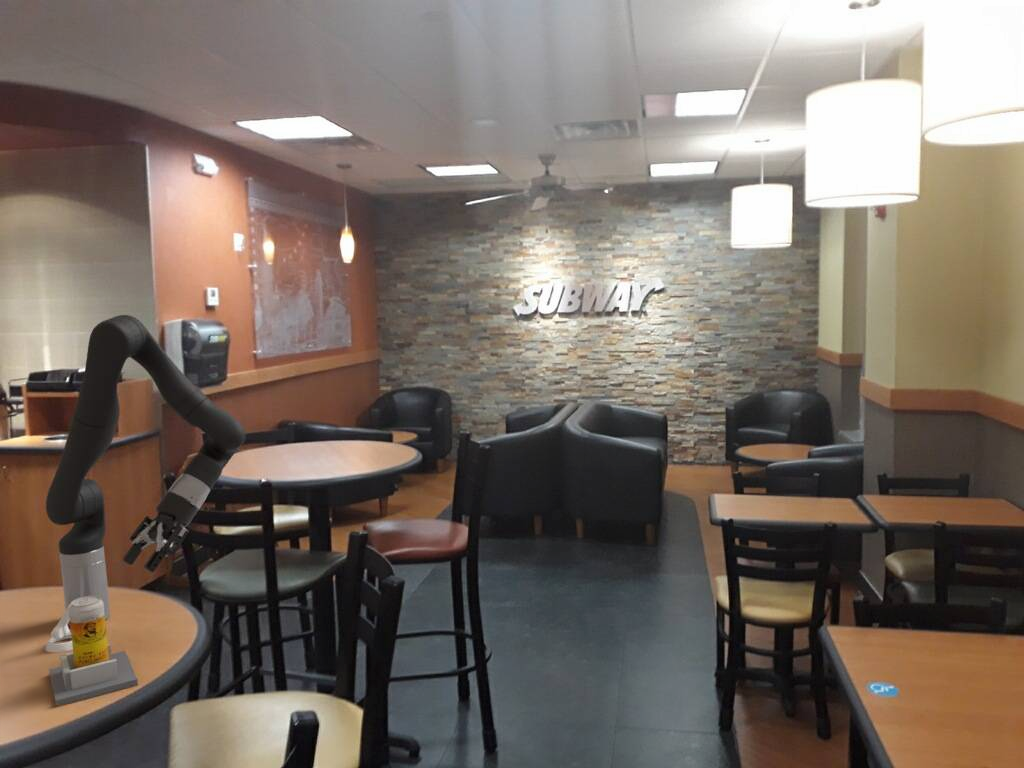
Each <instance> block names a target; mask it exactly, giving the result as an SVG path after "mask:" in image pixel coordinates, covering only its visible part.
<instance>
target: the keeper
mask: <svg viewBox="0 0 1024 768" xmlns="http://www.w3.org/2000/svg"><path fill="white" fill-rule="evenodd" d="M107 645H108V655H109V661H105V662H101V663H97V664H93V665H89V666H85V667H81V668H77V669H75V666H74V656H73V651H72V652H68V653H65V654H60V655H59V657H60V666H58V667H53V668H49V670H48V671H49V678H50V684H51V688H52V692H53V698H54V701H55V706H56V708H58V707H60V706H64V705H69V704H71V703H75V702H79V701H84V700H86V699H90V698H94V697H98V696H101V695H102V696H103V695H105V694H109V693H113V692H116V691H120V690H124V689H127V688H131V687H135V686H139V681H138V677H137V675H136V673H135V671H134V668H133V666H132V664H131V661H130V659H129V656H128V655H127V652H126V651H125V650H122V651H119V652H114V653H112V649H111V644H110V643H107Z"/></svg>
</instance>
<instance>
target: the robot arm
mask: <svg viewBox="0 0 1024 768" xmlns="http://www.w3.org/2000/svg"><path fill="white" fill-rule="evenodd" d="M129 358H130V359H132V360H133V361H134V362H136V363H138V365H140V366H141V367H142V368H143V369H144V370H145V371H146V372H147V373H148V375H149V376H150V377H151V378H152V380H153V382H154V384H155V386H156V387H157V390H158V392H159V394H160V396H161V397H162V398H163V400H164V401H165V403H166V404H167V405H168V406H169V407H170V408H171V409H172V411H174V412H175V413H176V414H177V415H178V416H179V417H181V418H182V419H183V420H184V421H185V422H186V423H187V424H188V425H189V426H191V427H193V428H198V429H199V430H201V431H202V432H203V433H204V434H205V435H207V438H206V440H205V441H204V443H203V444H202V446H201V447H200V449H199V451H198V452H197V453H196V455H195V456H194V457H193V458H191V460H190V461H189V463H187V466H186V467H185V468H184V470H183V471H182V473H181V474H180V476H179V477H177V479H175V481H174V482H173V483H172V485H171V486H170V488H169V489H168V490H167V492H166V493H165V495H164V496H163V497H162V498H161V501H159V503H158V504H157V506H156V507H155V511H156V512H157V516H156V517H155V518H151V516H149V515H146V516H145V517H144V519H143V520H142V521H141V522H140V524H139V525H138V526H137V527H136V529H135V530H134V531H133V533H132V534H131V535H130V538H129V540H130V541H131V543H132V545H131V546H130V548H129V550H127V552H126V554H125V555H124V557H123V558H122V561H123V562H124V563H126V564H127V565H131V566H132V565H134V563H135V562H136V561H137V559H138V557H139V555H141V553H142V551H143V550H144V549H145V548H147V546H149V545H154V543H157V545H156V549H155V551H154V552H153V553H152V554H151V556H150V557H149V558H148V560H147V561H146V563H145V564H144V567H143V568H144V569H145V570H147V571H148V572H150V573H154V572H155V571H156V570H157V568H158V567H159V566H160V564H161V563H162V561H164V560H163V559H164V558H167V557H168V556H172V557H173V556H174V555H175V554H176V553H177V551H179V550H178V549H179V548H180V546H181V545H182V543H183V542H184V541H185V538H186V537H187V536H188V534H189V532H190V531H189V529H187V528H186V527H188V526H189V525H190V523H191V522H192V520H193V518H194V517H195V516H196V514H197V513H198V511H199V510H200V509H201V507H202V506H203V504H204V503H205V501H206V499H207V497H208V496H209V494H210V492H211V490H212V489H213V487H214V486H215V484H216V483H217V482H218V480H219V479H220V478H221V477H220V476H221V474H222V473H223V469H224V468H225V467H226V466H227V464H228V463H229V461H230V460H231V459H232V458H233V456H234V455H235V453H236V452H237V451H238V450H239V448H241V447H242V445H243V444H244V443H245V440H246V431H245V429H244V427H243V425H242V423H240V421H239V420H238V419H236V418H235V417H234V416H233V415H231V414H230V413H229V412H227V411H226V410H224V409H223V408H221V407H220V406H218V405H217V404H215V403H214V402H213V401H212V400H211V399H210V397H208V396H207V395H206V393H205V394H204V392H202V391H201V390H200V389H199V388H198V387H197V386H196V385H195V384H194V383H193V382H192V381H191V380H190V379H189V378H188V377H187V376H186V375H185V373H183V372H182V371H181V369H179V368H178V366H177V365H176V364H175V363H174V362H173V361H172V359H171V358H170V357H169V356H168V354H167V353H166V351H164V349H163V348H162V347H161V345H160V344H159V343H158V342H157V340H156V339H155V338H154V337H153V335H152V333H150V331H149V330H148V328H147V327H146V326H144V324H143V323H142V322H141V320H139V319H138V318H136V317H135V316H133V315H129V314H120V315H117V316H113V317H110V318H108V319H105V320H103V321H101V322H99V323H98V324H96V325H95V326H94V327H93V329H92V331H91V332H90V335H89V340H88V346H87V352H86V360H85V361H86V362H85V369H84V374H83V378H82V382H81V384H80V385H81V386H80V388H79V392H78V397H77V400H76V403H75V407H74V409H73V414H72V417H71V421H70V424H69V429H68V433H67V438H66V441H65V445H64V448H63V451H62V454H61V458H60V460H59V464H58V466H57V469H56V471H55V473H54V474H55V475H54V477H53V479H52V480H51V484H50V486H49V489H48V491H47V496H46V499H45V510H46V511H45V512H46V515H47V517H48V519H49V520H50V521H51V522H52V523H53V524H55V525H57V526H66V525H67V526H68V525H70V524H73V526H72V528H71V529H70V530H69V531H68V532H67V533H66V534H65V535H63V536H62V537H61V538H60V539H59V541H58V551H59V561H60V567H61V568H60V569H61V578H62V587H63V598H64V607H65V608H64V609H65V610H64V611H66V609H67V607H68V606H69V605H70V604H71V602H72V601H74V600H76V599H78V598H82V597H86V596H99V597H100V598H101V600H102V601H103V603H104V614H105V621H106V620H107V619H109V618H110V616H111V606H110V596H109V586H108V585H109V584H108V577H107V575H108V574H107V567H106V566H107V565H106V557H105V546H104V545H105V544H104V539H105V534H106V509H105V508H106V507H105V506H106V505H105V498H104V497H105V496H104V493H103V490H102V487H101V486H100V485H99V484H98V482H97V481H96V480H94V479H91V478H86V477H87V475H88V473H89V472H90V470H91V469H92V467H93V466H94V465H95V464H96V463H97V461H99V459H100V458H101V457H102V456H103V455H104V454H105V452H106V450H108V448H109V447H110V445H111V444H112V442H113V439H114V438H115V434H116V430H117V428H118V427H117V426H118V423H119V420H120V414H121V408H120V401H119V395H118V383H119V380H120V376H121V373H122V370H123V367H124V365H125V363H126V361H127V360H128V359H129ZM139 534H140V535H139ZM67 625H68V627H71V626H70V620H69V622H68V624H67Z"/></svg>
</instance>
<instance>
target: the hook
mask: <svg viewBox="0 0 1024 768" xmlns="http://www.w3.org/2000/svg"><path fill="white" fill-rule="evenodd" d="M70 605H71V604H70ZM70 605H69V606H68V607H67V609H66V610H64V613H63V614H62V616H61V618H60V620H59V621H58V623H57V624H56V626H54V628H53V629H52V631H51V632H50V635H51V637H50V638H49V639H48V640H47V642H46V645H45V648H44V650H45V651H46V652H48V653H62V652H63V653H64V652H68V651H72V650H73V646H72V636H71V629H69V625H68V622H69V620H70V617H69V608H70ZM69 639H71V640H70V641H66V642H62V643H61V641H65V640H69ZM57 642H60V643H57ZM71 649H72V650H71Z"/></svg>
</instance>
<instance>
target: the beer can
mask: <svg viewBox="0 0 1024 768" xmlns="http://www.w3.org/2000/svg"><path fill="white" fill-rule="evenodd" d="M69 617H70V626H69V627H70V632H71V636H72V638H71V641H72V646H73V649H72V652H73V656H74V666H75V669H77V668H81V667H85V666H89V665H93V664H97V663H101V662H105V661H109V655H108V645H107V644H108V638H107V637H108V635H107V625H106V624H107V623H106V620H105V614H104V603H103V601H102V600H101V598H100V597H99V596H86V597H82V598H78V599H76V600H74V601H72V602H71V605H70V608H69Z"/></svg>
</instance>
